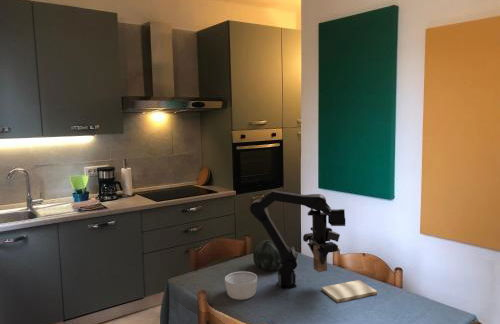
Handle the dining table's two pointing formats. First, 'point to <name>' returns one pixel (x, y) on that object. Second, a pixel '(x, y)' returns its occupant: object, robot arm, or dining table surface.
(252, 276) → the ramekin
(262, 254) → the squash
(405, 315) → the dining table surface
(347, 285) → the birch board
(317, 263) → the walnut block
